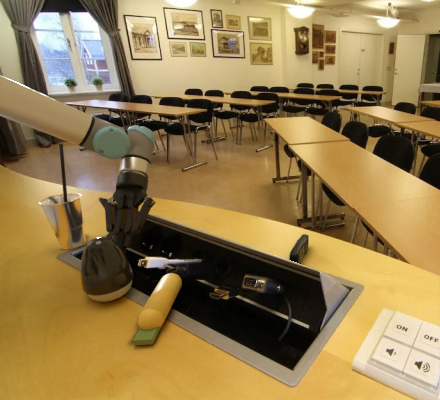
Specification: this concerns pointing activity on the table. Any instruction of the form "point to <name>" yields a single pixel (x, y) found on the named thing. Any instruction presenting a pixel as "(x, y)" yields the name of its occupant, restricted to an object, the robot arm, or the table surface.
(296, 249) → the mobile phone
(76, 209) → the silver cup with straw
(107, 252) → the dark brown egg shape
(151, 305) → the corn cob
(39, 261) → the table surface
